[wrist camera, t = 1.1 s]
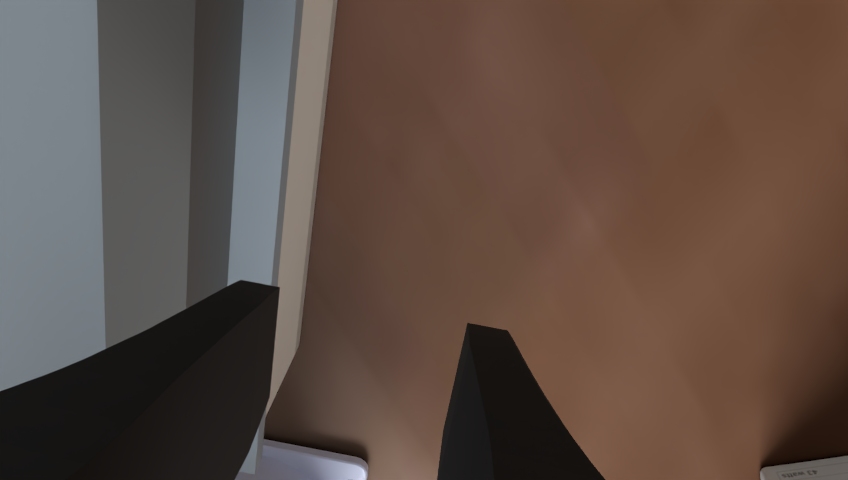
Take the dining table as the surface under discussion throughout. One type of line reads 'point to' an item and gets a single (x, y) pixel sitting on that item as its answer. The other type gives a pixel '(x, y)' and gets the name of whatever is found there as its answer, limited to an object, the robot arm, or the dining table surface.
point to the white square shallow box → (302, 179)
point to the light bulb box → (809, 470)
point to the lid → (137, 167)
